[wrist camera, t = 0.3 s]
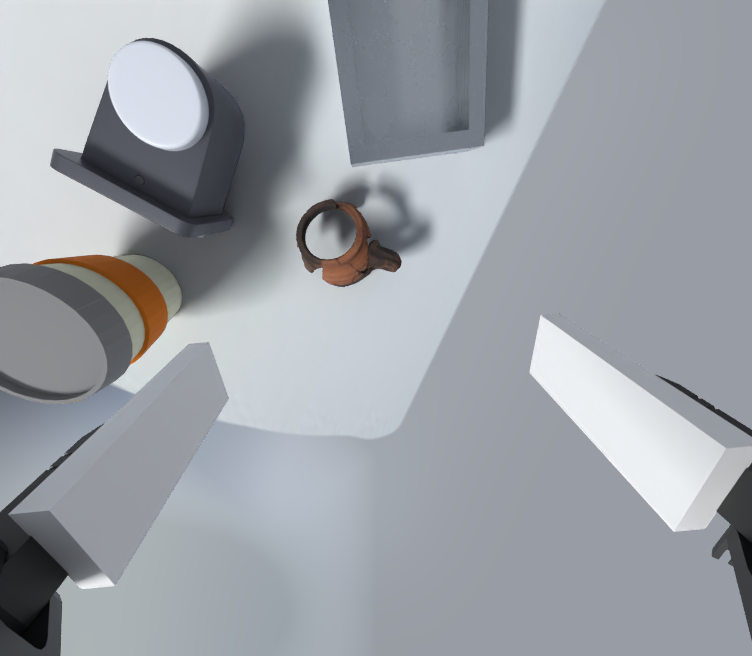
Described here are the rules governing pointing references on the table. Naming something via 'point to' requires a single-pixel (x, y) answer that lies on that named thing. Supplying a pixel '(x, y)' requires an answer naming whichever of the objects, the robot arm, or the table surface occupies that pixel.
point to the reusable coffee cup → (79, 322)
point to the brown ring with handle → (355, 259)
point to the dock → (411, 76)
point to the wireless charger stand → (161, 140)
